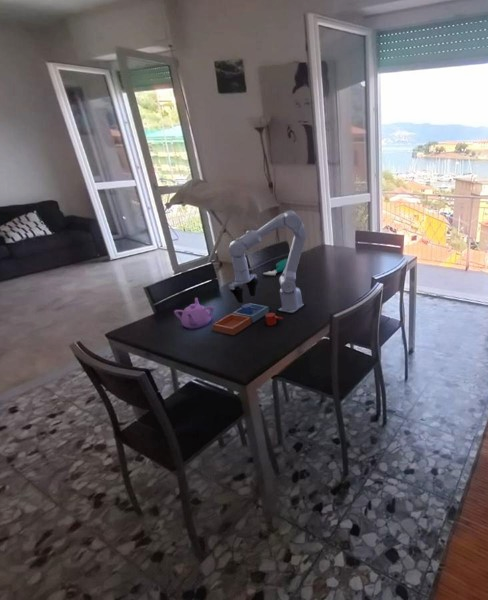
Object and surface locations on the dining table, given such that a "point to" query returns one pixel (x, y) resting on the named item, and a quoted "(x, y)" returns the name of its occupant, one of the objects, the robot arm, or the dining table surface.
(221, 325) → the orange tray
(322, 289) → the dining table surface
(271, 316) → the red scoop
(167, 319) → the dining table surface
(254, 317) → the blue bin
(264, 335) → the dining table surface
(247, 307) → the blue measuring cup
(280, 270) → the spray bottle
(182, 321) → the teapot
